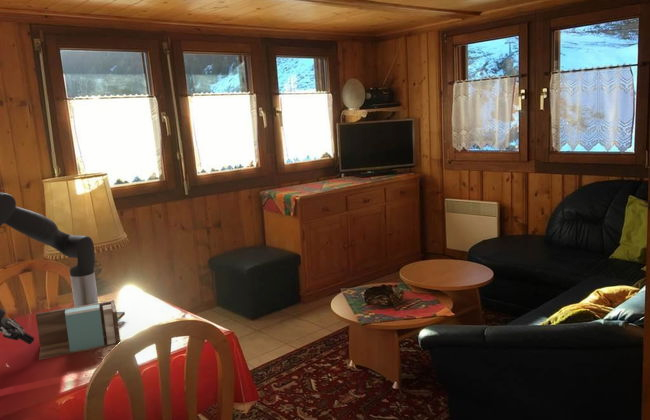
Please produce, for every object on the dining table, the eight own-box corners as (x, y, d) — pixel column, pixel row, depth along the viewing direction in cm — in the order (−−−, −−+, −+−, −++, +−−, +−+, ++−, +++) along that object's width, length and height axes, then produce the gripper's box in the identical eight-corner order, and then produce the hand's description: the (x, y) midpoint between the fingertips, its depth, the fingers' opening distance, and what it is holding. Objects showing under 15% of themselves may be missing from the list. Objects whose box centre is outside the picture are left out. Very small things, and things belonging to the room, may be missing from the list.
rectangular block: (70, 347, 194) (65, 309, 191) (103, 341, 198) (99, 304, 196) (70, 352, 190) (64, 313, 188) (104, 345, 195) (99, 307, 192)
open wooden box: (41, 349, 197) (35, 310, 195) (118, 334, 208) (113, 297, 205) (39, 363, 186) (33, 323, 183) (120, 347, 196) (116, 308, 193)
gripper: (-10, 310, 174) (39, 339, 181) (-5, 298, 186) (41, 325, 193) (-27, 329, 173) (23, 357, 180) (-21, 316, 185) (26, 343, 192)
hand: (32, 341), depth 187 cm, fingers closed
